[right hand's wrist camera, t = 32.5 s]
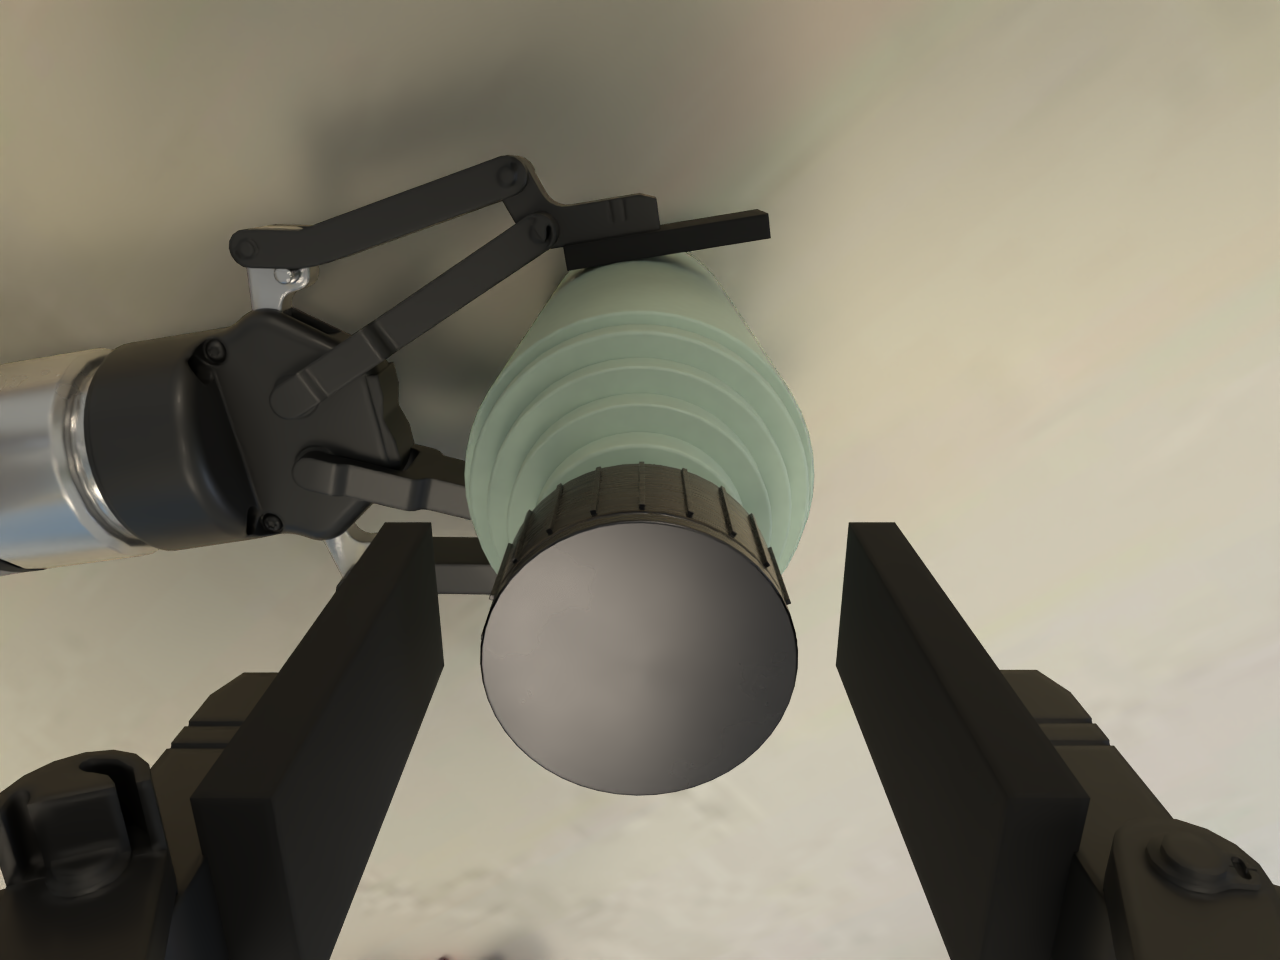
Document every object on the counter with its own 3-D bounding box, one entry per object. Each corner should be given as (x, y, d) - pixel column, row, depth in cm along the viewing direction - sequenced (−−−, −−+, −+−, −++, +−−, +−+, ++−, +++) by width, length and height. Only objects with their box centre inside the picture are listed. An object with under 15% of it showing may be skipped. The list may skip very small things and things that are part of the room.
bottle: (680, 459, 38) (740, 898, 15) (514, 380, 36) (312, 731, 14) (768, 295, 35) (997, 529, 13) (594, 205, 34) (505, 287, 12)
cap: (832, 545, 15) (868, 618, 12) (683, 745, 16) (691, 844, 14) (588, 406, 14) (578, 455, 11) (455, 630, 15) (420, 715, 13)
